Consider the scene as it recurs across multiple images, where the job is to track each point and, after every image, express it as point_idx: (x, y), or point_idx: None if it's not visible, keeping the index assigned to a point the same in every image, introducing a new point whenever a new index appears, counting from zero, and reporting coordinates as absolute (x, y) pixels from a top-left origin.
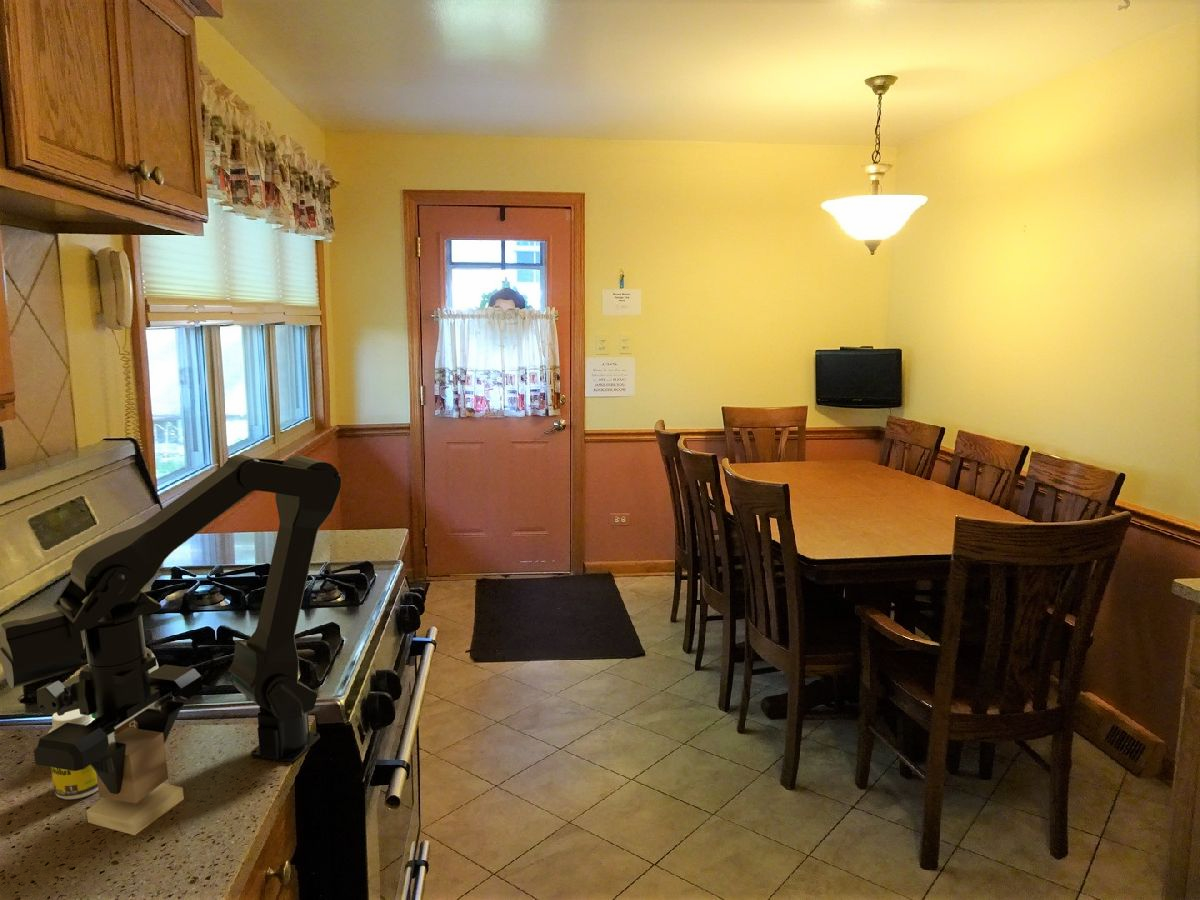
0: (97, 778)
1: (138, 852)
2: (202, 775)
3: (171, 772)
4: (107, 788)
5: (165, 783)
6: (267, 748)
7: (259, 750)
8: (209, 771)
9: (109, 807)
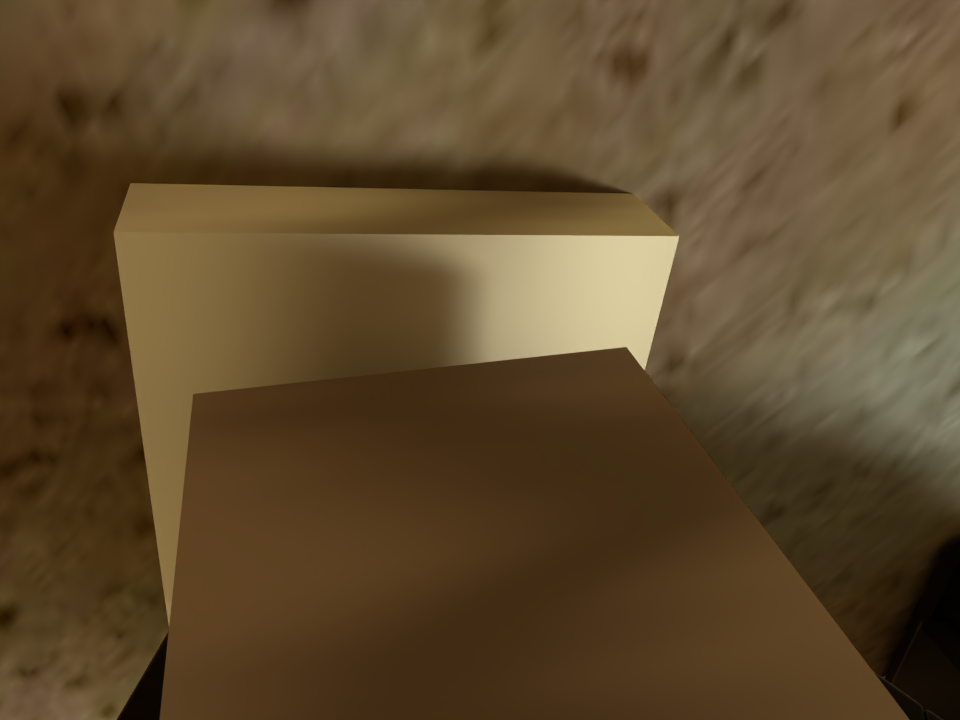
0: (176, 565)
1: (72, 695)
2: (786, 457)
3: (824, 262)
4: (157, 654)
5: None
6: (940, 703)
7: (948, 643)
8: (825, 460)
9: (241, 377)
